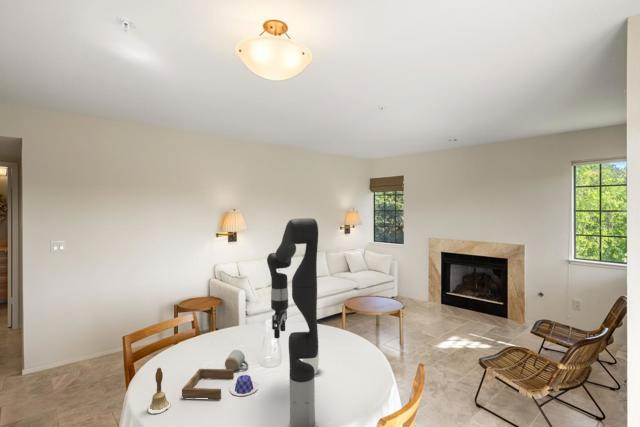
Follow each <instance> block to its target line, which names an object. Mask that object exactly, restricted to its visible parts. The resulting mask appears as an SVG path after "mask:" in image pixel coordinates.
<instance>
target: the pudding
mask: <svg viewBox="0 0 640 427" xmlns="http://www.w3.org/2000/svg"><path fill="white" fill-rule="evenodd" d="M258 388H259V386H258V383H257V382H255V381H254V380H252V377H251V375H248V374H241V375H240V376H238V377H237V380H236V383H233V384H232V385H231V386H230V389H229V392H230V393H231V394H232V395H234V396H243V397H244V396H249V395H252V394H253V393H255V392H256V391H257V390H258Z"/></svg>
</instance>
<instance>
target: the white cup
mask: <svg viewBox="0 0 640 427" xmlns="http://www.w3.org/2000/svg"><path fill="white" fill-rule="evenodd" d="M319 355H320V350H319V349H318V354H317V357H315V358H310V359H302V361H303V362H305V363H308V364H310V365H312V366H313V367H314V371H315V375H317V373H318V372H319V362H320V361H319V360H320V357H319Z"/></svg>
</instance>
